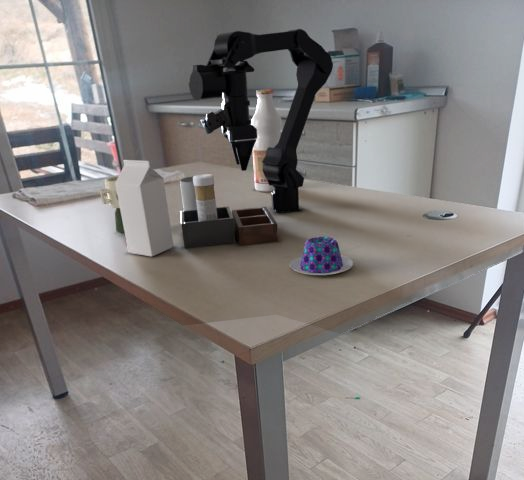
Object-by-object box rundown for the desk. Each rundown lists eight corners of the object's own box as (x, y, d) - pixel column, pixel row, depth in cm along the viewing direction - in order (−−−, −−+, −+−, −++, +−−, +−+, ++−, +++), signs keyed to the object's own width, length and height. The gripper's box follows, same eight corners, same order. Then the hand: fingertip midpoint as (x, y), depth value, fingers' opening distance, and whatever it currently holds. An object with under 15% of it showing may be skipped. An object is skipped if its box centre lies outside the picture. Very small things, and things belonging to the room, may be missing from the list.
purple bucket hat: (329, 283, 92) (329, 255, 89) (277, 271, 99) (275, 244, 96) (365, 263, 99) (366, 236, 97) (314, 253, 107) (313, 228, 104)
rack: (267, 222, 129) (266, 206, 127) (278, 241, 115) (277, 223, 113) (233, 226, 128) (231, 210, 126) (240, 245, 114) (238, 227, 112)
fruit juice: (249, 188, 166) (242, 90, 152) (275, 184, 169) (270, 88, 156) (264, 193, 158) (258, 91, 145) (290, 188, 162) (287, 88, 148)
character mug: (116, 240, 124) (104, 184, 118) (103, 234, 129) (91, 180, 122) (156, 229, 130) (147, 176, 123) (142, 225, 135) (133, 172, 128)
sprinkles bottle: (218, 231, 123) (212, 172, 117) (220, 236, 119) (214, 176, 113) (198, 234, 122) (191, 174, 116) (201, 239, 118) (193, 178, 112)
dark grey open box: (230, 229, 126) (228, 206, 124) (235, 242, 116) (233, 218, 114) (183, 233, 125) (180, 210, 122) (184, 248, 115) (181, 223, 112)
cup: (211, 222, 133) (206, 182, 128) (180, 222, 134) (175, 182, 130) (220, 213, 140) (216, 175, 135) (191, 214, 142) (186, 176, 137)
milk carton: (152, 257, 111) (136, 164, 102) (128, 253, 114) (110, 162, 105) (174, 247, 116) (160, 157, 107) (150, 244, 119) (135, 156, 110)
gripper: (197, 97, 126) (205, 164, 133) (203, 101, 110) (211, 177, 117) (243, 93, 127) (248, 160, 135) (255, 97, 111) (260, 172, 119)
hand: (241, 167), depth 126 cm, fingers open, 9 cm apart
